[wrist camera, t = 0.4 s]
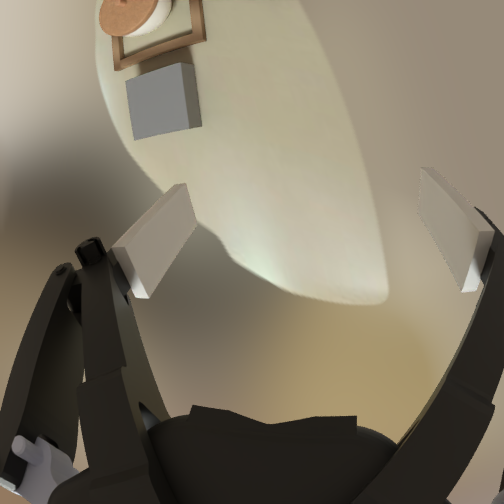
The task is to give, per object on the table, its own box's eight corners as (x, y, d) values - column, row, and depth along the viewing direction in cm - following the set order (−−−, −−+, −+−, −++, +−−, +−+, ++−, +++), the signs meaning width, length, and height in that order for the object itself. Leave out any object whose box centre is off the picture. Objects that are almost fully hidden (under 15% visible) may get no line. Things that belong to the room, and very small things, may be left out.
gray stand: (140, 81, 38) (125, 81, 34) (193, 64, 35) (180, 62, 31) (148, 136, 42) (134, 140, 39) (202, 126, 39) (189, 128, 36)
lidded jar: (146, -16, 28) (111, -30, 20) (194, -8, 28) (162, -26, 20) (120, 34, 34) (82, 29, 26) (164, 47, 34) (126, 40, 26)
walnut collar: (114, -4, 30) (110, -5, 28) (197, -41, 24) (194, -43, 23) (118, 71, 37) (114, 70, 36) (206, 40, 32) (203, 39, 31)
